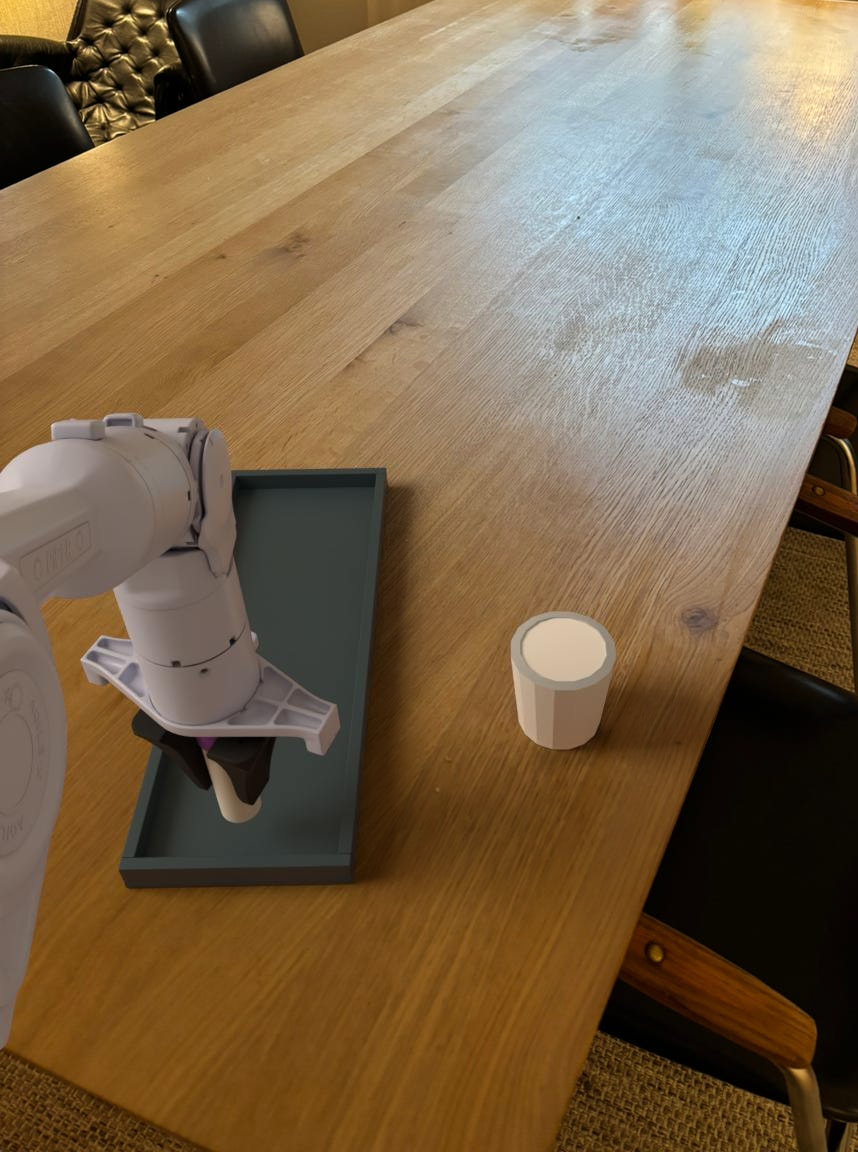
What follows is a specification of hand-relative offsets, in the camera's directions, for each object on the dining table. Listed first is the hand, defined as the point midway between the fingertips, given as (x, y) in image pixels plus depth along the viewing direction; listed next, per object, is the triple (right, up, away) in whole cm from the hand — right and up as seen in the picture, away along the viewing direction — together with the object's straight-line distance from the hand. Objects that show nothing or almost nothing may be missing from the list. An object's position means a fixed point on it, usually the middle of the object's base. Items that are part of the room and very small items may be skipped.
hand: (234, 783), depth 60 cm
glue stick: (0, -2, +2) cm, 2 cm away
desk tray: (0, +6, +15) cm, 16 cm away
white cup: (+20, +2, +11) cm, 23 cm away
